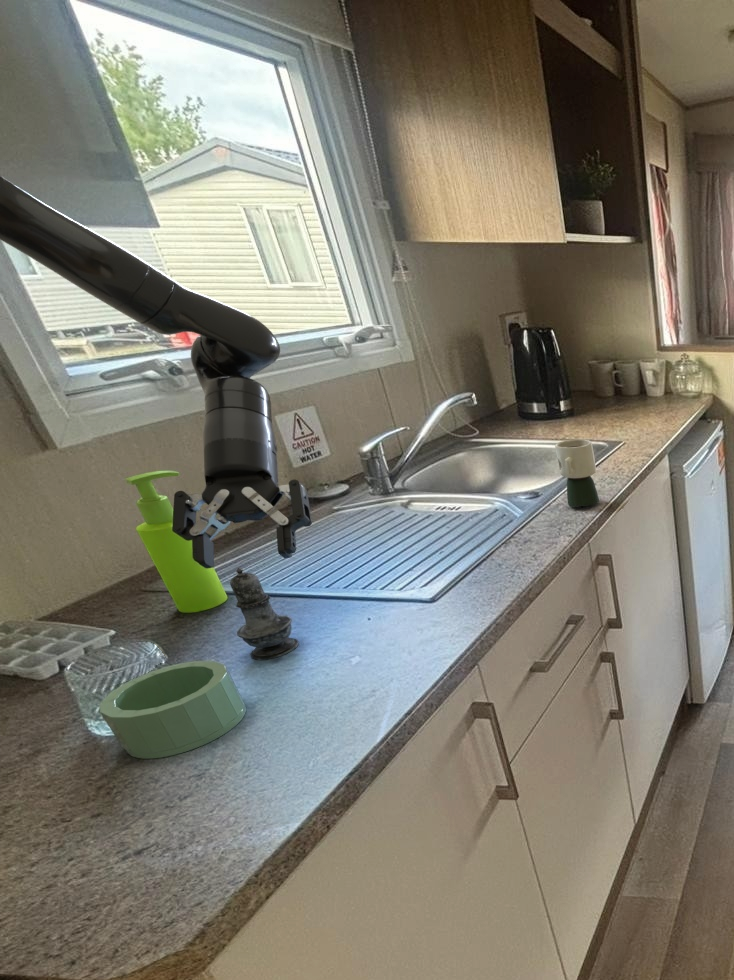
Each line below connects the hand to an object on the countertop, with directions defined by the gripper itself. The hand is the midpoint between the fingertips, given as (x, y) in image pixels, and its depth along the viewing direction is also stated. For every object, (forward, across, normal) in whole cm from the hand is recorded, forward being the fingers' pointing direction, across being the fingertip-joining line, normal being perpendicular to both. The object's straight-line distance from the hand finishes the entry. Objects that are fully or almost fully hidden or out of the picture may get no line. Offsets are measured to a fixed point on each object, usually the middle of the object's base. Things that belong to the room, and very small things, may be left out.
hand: (246, 560), depth 85 cm
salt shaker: (+10, 0, +6) cm, 12 cm away
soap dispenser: (-4, -14, +21) cm, 25 cm away
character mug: (-20, +43, +37) cm, 61 cm away
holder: (+22, -4, -5) cm, 23 cm away
